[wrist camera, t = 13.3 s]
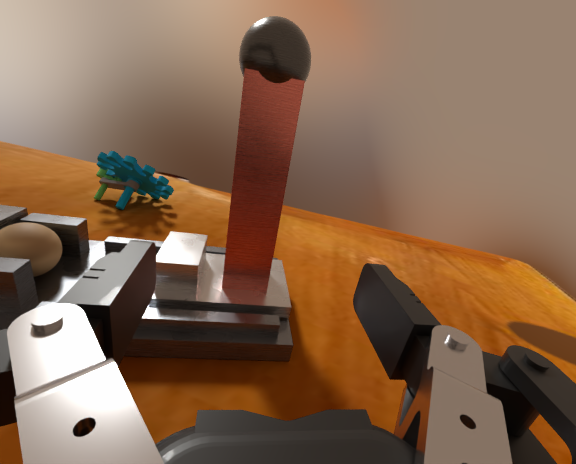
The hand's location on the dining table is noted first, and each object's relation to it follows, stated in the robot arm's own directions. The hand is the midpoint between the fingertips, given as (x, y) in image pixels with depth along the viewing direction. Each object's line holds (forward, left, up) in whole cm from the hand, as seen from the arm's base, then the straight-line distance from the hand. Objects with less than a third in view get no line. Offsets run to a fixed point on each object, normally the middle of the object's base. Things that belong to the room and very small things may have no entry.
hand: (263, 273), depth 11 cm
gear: (+6, +35, -10) cm, 37 cm away
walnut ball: (-7, +18, -9) cm, 21 cm away
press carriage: (+5, +10, -8) cm, 14 cm away
